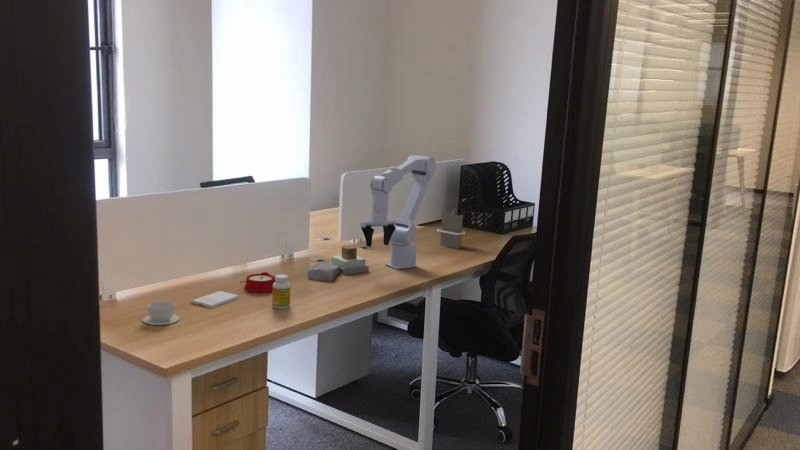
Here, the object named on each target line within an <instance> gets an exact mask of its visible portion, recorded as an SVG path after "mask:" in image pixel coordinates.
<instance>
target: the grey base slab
mask: <svg viewBox="0 0 800 450" xmlns="http://www.w3.org/2000/svg"><path fill="white" fill-rule="evenodd" d="M327 263H328V264H333V263H332V261H329V262H327ZM333 265H335V264H333ZM369 271H370V266H369V265H367V264H365V266H359V267H352V268H346V269H345V268H343V267H340V266H339V273H338V274H342V275H350V274H357V273H358V274H359V273H364V272H365V273H366V272H369Z"/></svg>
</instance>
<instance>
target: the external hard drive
mask: <svg viewBox="0 0 800 450" xmlns="http://www.w3.org/2000/svg"><path fill="white" fill-rule="evenodd" d="M239 299H240V296H239V295H238V294H235V293H230V292H226V291H223V290H219V291H216V292H212V293H210V294H207V295H203V296H201V297H198V298H194V299H193V300H191V301H190V302H191V304H193V305H198V306H202V307H205V308H209V309H214V308H215V307H218V306H221V305H224V304H227V303H231V302H233V301H235V300H239Z"/></svg>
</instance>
